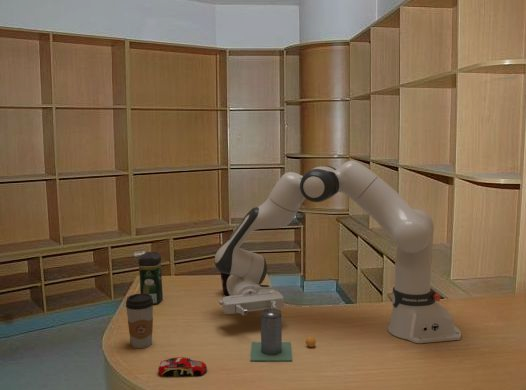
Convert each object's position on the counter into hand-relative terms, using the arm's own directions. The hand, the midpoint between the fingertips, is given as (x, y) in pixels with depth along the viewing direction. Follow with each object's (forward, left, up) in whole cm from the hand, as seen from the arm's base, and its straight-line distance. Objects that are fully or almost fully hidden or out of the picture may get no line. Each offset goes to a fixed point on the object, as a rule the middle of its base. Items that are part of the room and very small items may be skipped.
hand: (259, 311), depth 171 cm
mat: (-4, +11, -9) cm, 14 cm away
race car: (+21, +23, -9) cm, 32 cm away
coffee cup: (+36, +5, -9) cm, 38 cm away
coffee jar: (+41, -33, -9) cm, 54 cm away
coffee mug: (+11, -42, -9) cm, 45 cm away
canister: (-4, +11, -8) cm, 14 cm away
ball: (-16, +7, -9) cm, 19 cm away
